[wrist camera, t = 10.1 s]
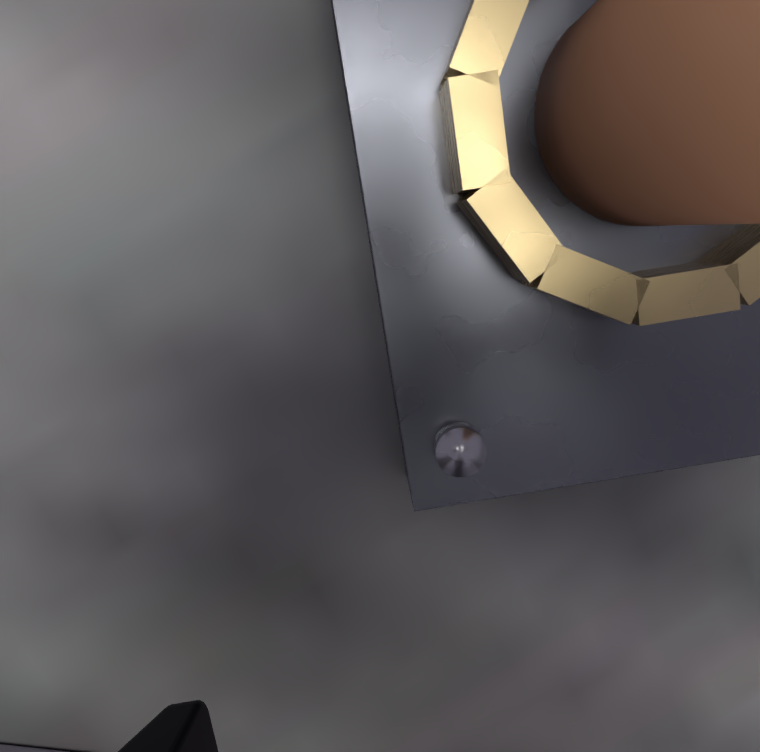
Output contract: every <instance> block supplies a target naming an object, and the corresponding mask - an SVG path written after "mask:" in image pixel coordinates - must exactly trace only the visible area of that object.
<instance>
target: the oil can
mask: <svg viewBox="0 0 760 752" xmlns="http://www.w3.org/2000/svg"><path fill="white" fill-rule="evenodd" d="M534 119H535V133H536V139H537V144H538V148H539V151H540V154H541V157H542V160H543V162H544V165H545V167H546V169H547V171H548V173H549V175H550V176H551V178H552V179H553V181H554V183H555V184H556V185H557V187H558V188H559V189H560V190H561V191H562V193H563V194H564V195H565V196H566V197H567V198H568V199H569V200H570V201H572V202H573V203H574V204H575V205H576V206H578V207H579V208H581V209H582V210H584V211H585V212H587V213H588V214H591V215H593V216H595V217H597V218H599V219H601V220H605V221H608V222H611V223H615V224H620V225H626V226H669V225H719V224H760V0H598V1H597V2H596V3H594V4H593V5H592V6H591V7H590V8H589V9H588V10H587V11H586V12H585V13H584V14H583V15H582V16H581V17H580V18H579V19H578V20H577V21H576V22H575V23H573V24H572V25H571V26H570V27H569V28H568V30H567V31H566V32H565V33H564V35H563V36H562V37H561V38H560V39H559V41H558V42H557V44H556V46H555V47H554V49H553V50H552V52H551V54H550V56H549V58H548V60H547V62H546V64H545V66H544V68H543V71H542V74H541V77H540V81H539V84H538V89H537V94H536V99H535V111H534Z"/></svg>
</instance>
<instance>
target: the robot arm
mask: <svg viewBox="0 0 760 752" xmlns="http://www.w3.org/2000/svg"><path fill="white" fill-rule="evenodd" d="M118 752H218V748H217V744H216V740H215V736H214V732H213V728H212V723H211V719H210V715H209V711H208V708H207V706H206V705H205V703H204V702H202V701H201V700H196V701H190V702H183V703H177V704H172V705H169V706H167V707H166V708H165V709H164V710H163V711H162V712H160V713H159V714H158V715H157V716H156V717H155V718H154V719H153V720H152V721H151V722H150V723H149V724H147V725H146V726H145V727H144V728H143V729H142V730H141V731H140V732H139V733H138V734H137V735H136V736H134V737H133V738H132V739H131V740H130V741H129V742H128V743H127V744H126V745H125V746H124V747H123V748H121V749H120V750H119V751H118Z"/></svg>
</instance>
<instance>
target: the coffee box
mask: <svg viewBox="0 0 760 752" xmlns="http://www.w3.org/2000/svg"><path fill="white" fill-rule="evenodd" d="M0 752H68V751H58V750H49V749H40V748H31V747H22V746H13V745H3V744H0Z"/></svg>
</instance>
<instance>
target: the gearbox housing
mask: <svg viewBox="0 0 760 752" xmlns="http://www.w3.org/2000/svg"><path fill="white" fill-rule="evenodd" d="M597 1H598V0H331V5H332V12H333V18H334V24H335V30H336V37H337V43H338V49H339V55H340V62H341V68H342V74H343V80H344V87H345V93H346V99H347V105H348V112H349V118H350V124H351V130H352V137H353V143H354V149H355V155H356V162H357V168H358V174H359V180H360V187H361V193H362V199H363V205H364V212H365V218H366V224H367V230H368V237H369V243H370V249H371V255H372V262H373V268H374V274H375V280H376V287H377V293H378V299H379V305H380V312H381V318H382V324H383V330H384V336H385V343H386V349H387V355H388V361H389V368H390V374H391V380H392V386H393V393H394V399H395V405H396V411H397V418H398V424H399V430H400V436H401V443H402V449H403V455H404V461H405V468H406V474H407V479H408V484H409V489H410V494H411V499H412V503H413V508H414V511H419V510H425V509H431V508H437V507H443V506H449V505H456V504H462V503H468V502H474V501H480V500H486V499H492V498H498V497H504V496H511V495H517V494H523V493H529V492H535V491H541V490H547V489H553V488H559V487H566V486H572V485H578V484H584V483H590V482H596V481H602V480H608V479H614V478H620V477H627V476H633V475H639V474H645V473H651V472H657V471H663V470H669V469H675V468H682V467H688V466H694V465H700V464H706V463H712V462H718V461H724V460H730V459H737V458H743V457H749V456H755V455H760V224H719V225H669V226H626V225H620V224H615V223H611V222H608V221H605V220H601V219H599V218H597V217H595V216H593V215H591V214H588V213H587V212H585V211H584V210H582V209H581V208H579V207H578V206H576V205H575V204H574V203H573V202H572V201H570V200H569V199H568V198H567V197H566V196H565V195H564V194H563V193H562V191H561V190H560V189H559V188H558V187H557V185H556V184H555V183H554V181H553V179H552V178H551V176H550V175H549V173H548V171H547V169H546V167H545V165H544V162H543V160H542V157H541V154H540V151H539V148H538V144H537V139H536V133H535V119H534V111H535V99H536V94H537V89H538V84H539V81H540V77H541V74H542V71H543V68H544V66H545V64H546V62H547V60H548V58H549V56H550V54H551V52H552V50H553V49H554V47H555V46H556V44H557V42H558V41H559V39H560V38H561V37H562V36H563V35H564V33H565V32H566V31H567V30H568V28H569V27H570V26H571V25H572V24H573V23H575V22H576V21H577V20H578V19H579V18H580V17H581V16H582V15H583V14H584V13H585V12H586V11H587V10H588V9H589V8H590V7H591V6H592V5H593V4H594V3H596V2H597Z"/></svg>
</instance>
